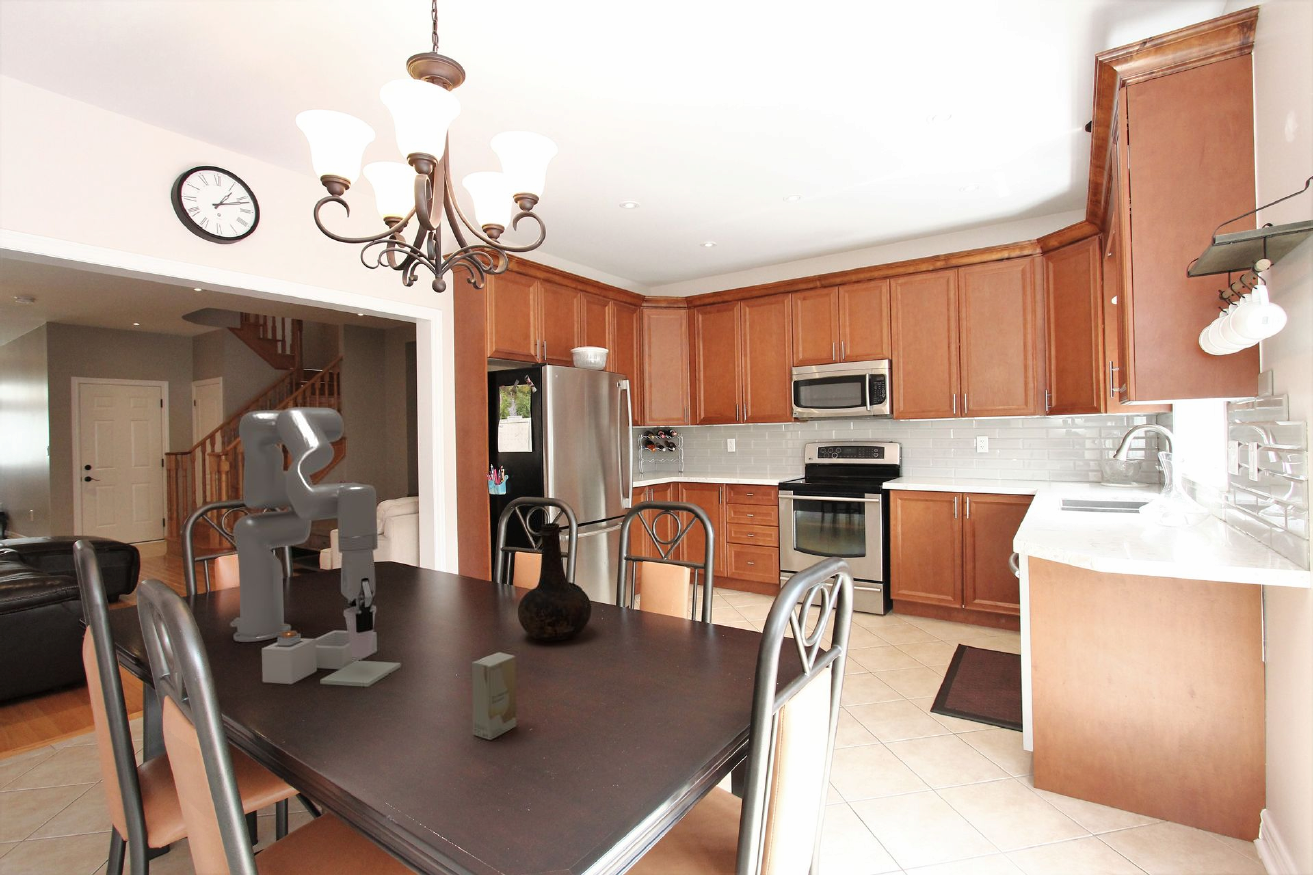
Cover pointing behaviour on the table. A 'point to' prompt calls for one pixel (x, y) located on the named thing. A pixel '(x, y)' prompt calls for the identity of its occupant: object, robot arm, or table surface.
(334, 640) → the holder
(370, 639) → the smoothie
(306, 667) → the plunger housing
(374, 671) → the coaster
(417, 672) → the table surface
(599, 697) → the table surface
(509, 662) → the skincare box
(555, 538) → the glass bottle
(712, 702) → the table surface
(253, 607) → the robot arm
